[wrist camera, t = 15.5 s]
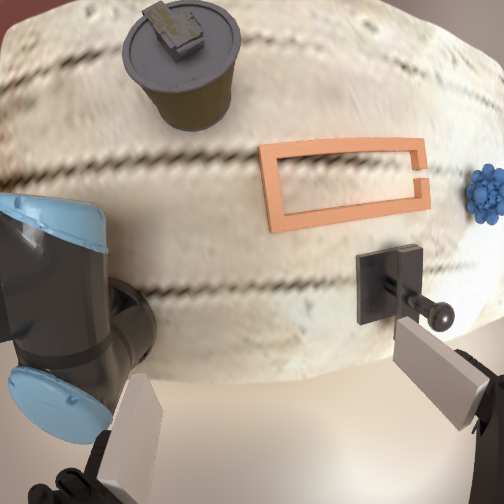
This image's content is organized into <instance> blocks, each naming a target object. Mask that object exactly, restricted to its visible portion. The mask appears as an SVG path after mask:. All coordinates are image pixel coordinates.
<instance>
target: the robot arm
mask: <svg viewBox="0 0 504 504" xmlns="http://www.w3.org/2000/svg"><path fill="white" fill-rule="evenodd" d="M107 254H109V250H108V248H107V241H106V218H105V215H104V212H103V211H102V209H101V208H100V207H99V206H97V205H96V204H94V203H90V202H85V201H78V200H71V199H63V198H54V197H46V196H37V195H28V194H15V193H3V192H1V193H0V343H1V342H5V341H10V340H13V343H14V347H15V350H16V354H17V357H18V366H16V367H15V368H13V369H12V370H11V376H10V377H9V380H8V387H9V391H10V394H11V396H12V398H13V400H14V402H15V403H16V405H17V406H18V408H19V409H20V410H21V411H22V412H23V414H24V415H25V416H26V417H27V418H28V419H29V420H31V421H32V422H33V423H34V424H36V425H37V426H38V427H39V428H41V429H42V430H44V431H45V432H47V433H49V434H50V435H52V436H54V437H56V438H59V439H61V440H64V441H66V442H70V443H74V444H81V445H82V444H83V445H85V444H91V443H94V445H93V448H92V450H91V455H90V456H89V459H88V462H87V465H86V467H85V471H84V473H82V472H81V471H80V470H78V469H76V468H67V469H64V470H62V471H61V472H60V473H59V474H58V475H57V477H56V480H55V483H56V487H57V488H58V489H59V490H55V491H52V490H51V489H50V488H49V487H48V486H47V485H45V484H36V485H34V486H33V487H32V488H31V489H30V490H29V492H28V504H149V502H150V494H151V486H152V479H153V471H154V464H155V458H156V451H157V445H158V439H159V433H160V426H161V421H162V416H163V410H162V407H161V405H160V403H159V401H158V399H157V397H156V395H155V392H154V390H153V388H152V385H151V383H150V381H149V378H148V376H147V373H135V374H132V376H131V379H130V381H129V384H128V387H127V389H126V392H125V395H124V397H123V400H122V403H121V406H120V408H119V412H118V414H117V417H116V420H115V423H114V425H113V428H112V430H107V429H108V427H109V425H110V424H111V423H112V420H113V418H112V417H113V414H114V412H115V409H116V406H117V404H118V401H119V398H120V395H121V393H122V390H123V388H124V384H125V382H126V380H127V377H128V375H129V372H130V370H131V369H133V368H134V367H135V366H137V365H138V364H139V363H141V362H142V361H143V360H144V359H145V358H146V357H147V356H148V354H149V353H150V351H151V349H152V346H153V343H154V341H155V337H156V322H155V318H154V315H153V312H152V310H151V308H150V306H149V304H148V303H147V301H146V300H145V299H144V298H143V296H142V295H141V294H140V293H139V292H138V291H136V290H135V289H134V288H133V287H131V286H130V285H128V284H126V283H124V282H122V281H119V280H116V279H112V278H108V265H107ZM393 361H394V362H395V363H396V365H397V366H398V367H399V368H400V369H401V370H402V371H403V372H404V373H405V374H406V375H407V376H408V377H409V378H410V379H411V380H412V381H413V382H414V383H415V384H416V385H417V387H418V388H419V389H420V390H421V391H422V392H423V393H424V394H425V395H426V396H427V397H428V398H429V399H430V400H431V401H432V402H433V403H434V405H436V407H437V408H438V409H439V410H440V411H441V412H442V413H443V414H444V415H445V416H446V418H447V419H448V420H449V421H450V422H451V423H452V424H453V425H454V426H455V427H456V428H457V430H458V431H461V430H462V429H464V428H465V427H467V426H468V425H470V424H471V422H472V420H473V418H474V416H475V415H476V416H477V417H478V420H477V422H476V424H475V426H474V428H473V430H472V434H474V432H475V430H476V429H477V433H476V434H477V435H476V451H475V463H474V472H473V480H472V487H471V493H470V499H469V504H504V375H500V376H497V375H496V374H494V373H493V372H492V371H490V370H489V369H488V368H486V367H485V366H484V365H483V364H481V363H480V362H478V361H477V360H476V359H475V358H474V359H473V357H472V356H471V355H469V354H468V353H466V352H464V351H462V350H459V349H456V350H452V349H451V348H450V347H448V346H447V345H446V344H444V343H443V342H442V341H441V340H439V339H438V338H437V337H435V336H434V335H433V334H431V333H430V332H429V331H427V330H426V329H424V328H423V327H422V326H420V325H419V324H418V323H416V322H415V321H414V320H412V319H411V318H410V317H408V316H407V317H404V318H401V319H398V320H397V323H396V336H395V346H394V355H393Z"/></svg>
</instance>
